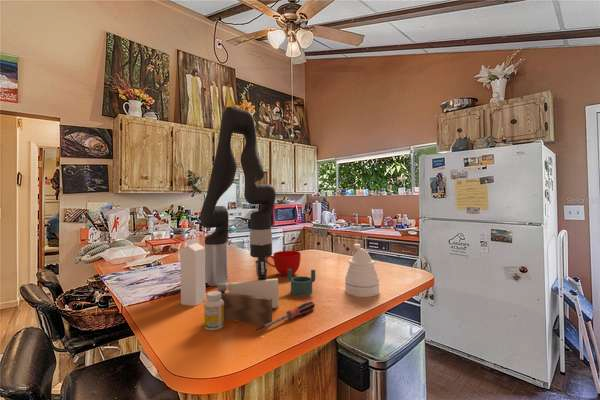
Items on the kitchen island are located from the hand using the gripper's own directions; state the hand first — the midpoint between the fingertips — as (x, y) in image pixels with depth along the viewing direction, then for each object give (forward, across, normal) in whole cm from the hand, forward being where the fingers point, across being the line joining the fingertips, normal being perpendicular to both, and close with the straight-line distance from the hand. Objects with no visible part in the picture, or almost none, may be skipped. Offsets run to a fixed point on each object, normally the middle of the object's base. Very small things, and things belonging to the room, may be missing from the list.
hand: (262, 292), depth 100 cm
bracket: (+5, -10, +16) cm, 19 cm away
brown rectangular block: (+4, +11, -6) cm, 13 cm away
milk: (+4, -8, -24) cm, 25 cm away
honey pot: (+5, -5, +39) cm, 40 cm away
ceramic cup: (+5, -37, +13) cm, 40 cm away
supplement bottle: (+4, +14, -15) cm, 21 cm away
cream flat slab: (+4, +5, -5) cm, 8 cm away
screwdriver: (+4, +15, +6) cm, 17 cm away
